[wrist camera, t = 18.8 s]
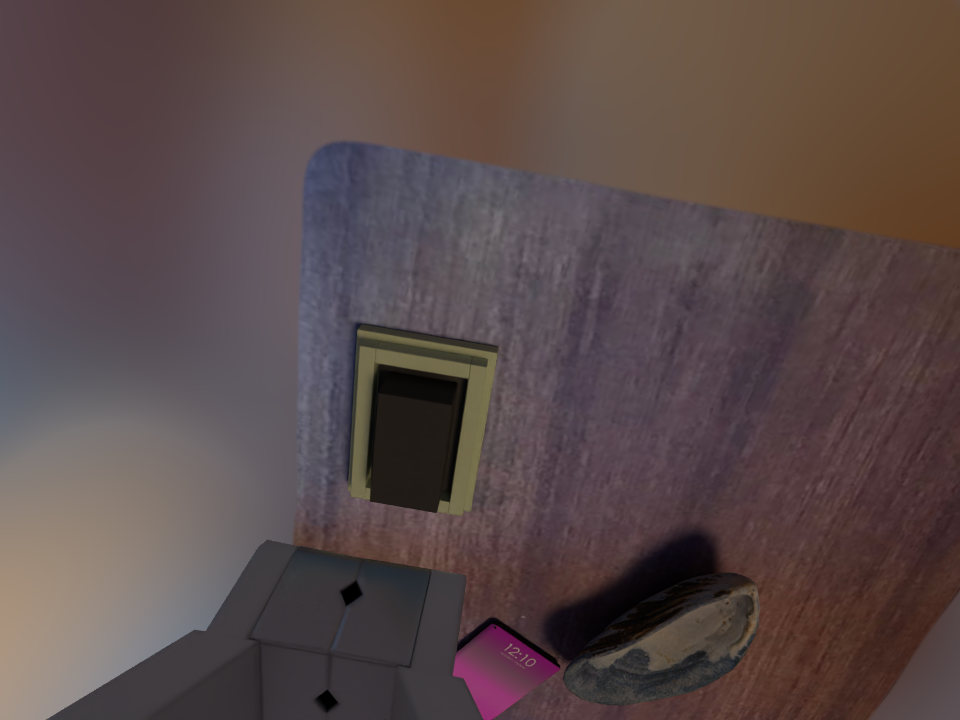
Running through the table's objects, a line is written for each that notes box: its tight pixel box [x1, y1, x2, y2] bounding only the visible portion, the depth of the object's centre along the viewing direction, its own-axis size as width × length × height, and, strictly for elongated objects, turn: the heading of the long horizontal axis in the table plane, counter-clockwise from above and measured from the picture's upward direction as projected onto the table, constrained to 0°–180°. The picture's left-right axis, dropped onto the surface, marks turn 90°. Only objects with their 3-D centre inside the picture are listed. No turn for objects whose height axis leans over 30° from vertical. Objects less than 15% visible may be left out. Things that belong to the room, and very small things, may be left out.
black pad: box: [370, 372, 458, 513], centre depth 37 cm, size 8×4×3 cm, turn 172°
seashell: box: [563, 573, 760, 705], centre depth 42 cm, size 15×12×5 cm
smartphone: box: [453, 622, 560, 720], centre depth 49 cm, size 7×15×1 cm, turn 141°
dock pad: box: [348, 324, 499, 516], centre depth 38 cm, size 12×9×2 cm
